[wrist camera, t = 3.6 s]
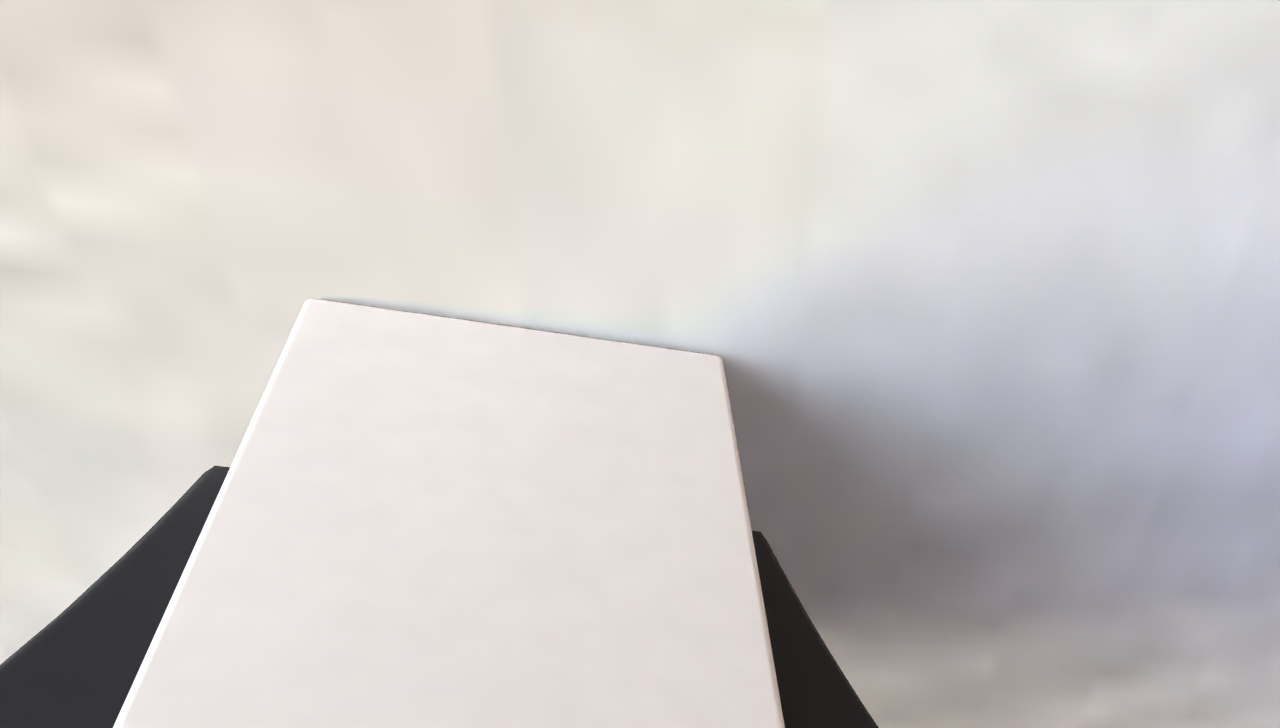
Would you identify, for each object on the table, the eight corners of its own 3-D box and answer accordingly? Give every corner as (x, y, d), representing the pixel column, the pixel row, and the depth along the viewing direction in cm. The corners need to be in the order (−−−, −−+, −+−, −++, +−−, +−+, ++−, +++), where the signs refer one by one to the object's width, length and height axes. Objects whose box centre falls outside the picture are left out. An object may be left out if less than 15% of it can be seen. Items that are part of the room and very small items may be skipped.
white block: (724, 353, 12) (799, 794, 7) (648, 636, 14) (670, 1102, 10) (305, 293, 11) (106, 732, 7) (298, 598, 14) (148, 1073, 9)
